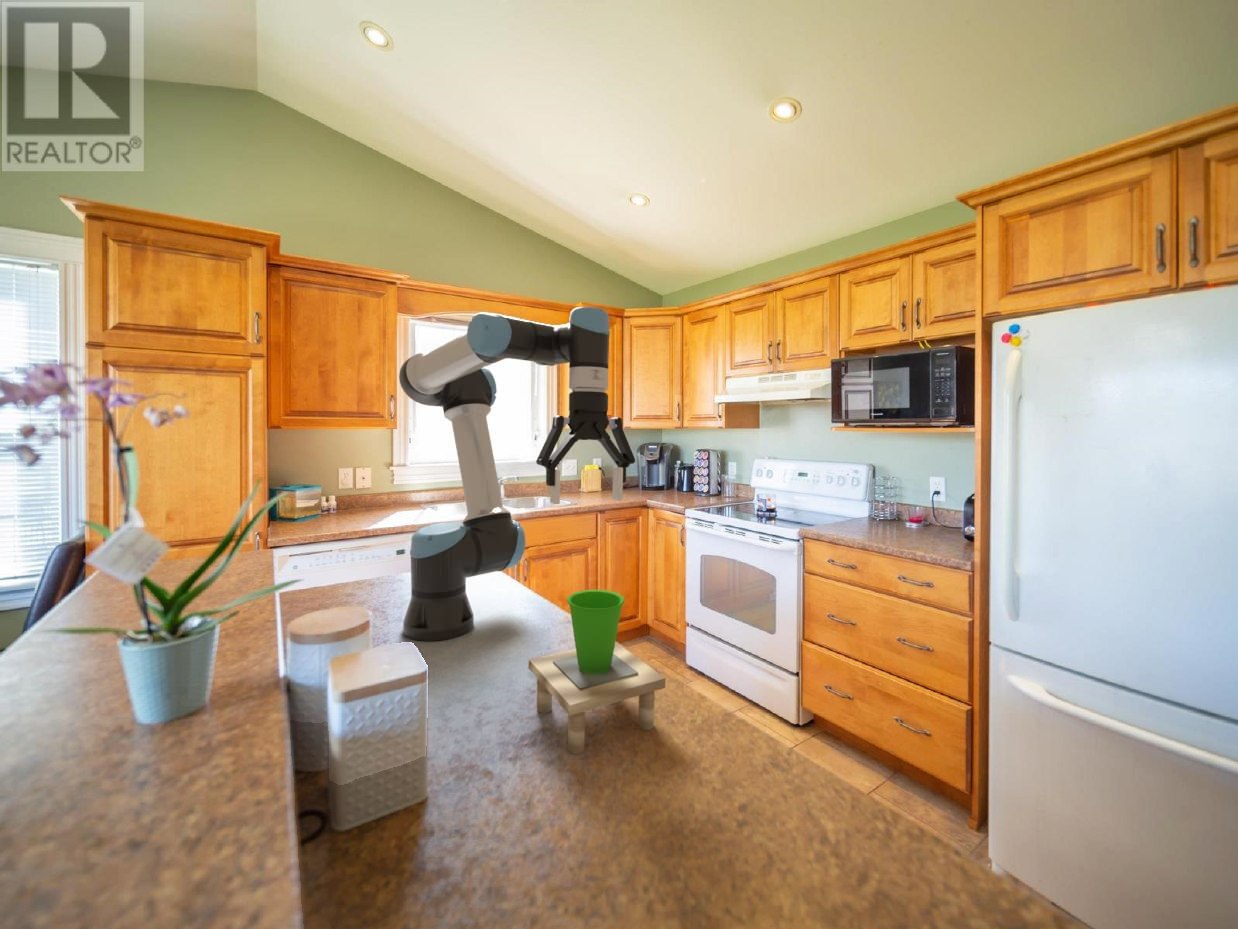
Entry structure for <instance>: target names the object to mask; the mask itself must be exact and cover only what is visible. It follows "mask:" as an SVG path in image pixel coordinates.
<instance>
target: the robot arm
mask: <svg viewBox="0 0 1238 929" xmlns="http://www.w3.org/2000/svg"><path fill="white" fill-rule="evenodd" d="M569 312H570V313H569V320H568V323H566V324H560V325H551V324H546V323H540V322H535V321H530V320H527V319H526V320H525V319H520V318H516V317H512V316H506V315H502V314H499V313H495V312H494V313H488V312H479V313H476V314H475V315H473V316H472V318H471V321H469V323H468V326H467V331H466V332H465V333H463V334H462V335H459V336H458V337H457V336H456V338H454V339H452V340H450V341H449V342H446V343H444V344H443V345H441V346H439V347H437V348H436V349H434V350H431V351H430V352H419V353H416V354H414V355H412V356H411V357H409V358H407V359H406V360H405V361H404V362H403V364H402V365H401V367H400V369H399V373H398V374H399V375H398V378H399V379H398V380H399V384H400V387H401V388H402V390H403V392H404V393H405V395H406V396H407V397H409V398H410V399H411V400H413V401H414V402H416V403H418V404H421V405H423V406H430V407H442V410H443V415H444V418H445V419H446V420H448V421H450V422H451V425H452V432H453V437H454V442H455V443H454V444H455V448H456V454H457V455H456V456H457V460H458V465H459V466H458V467H459V471H460V472H459V473H460V476H461V481H462V489H463V495H464V499H465V505H466V511H467V512H466V513H467V514H466V516H465V517H464V519H463V520H462V522H459V521H448V522H438V523H434V524H430V525H427V526H423V527H421V528H419V529H418V530H416V531H415V532H414V533H413V534H412V536H411V539H410V540H411V541H410V550H409V555H410V579H411V580H410V583H411V584H410V587H411V590H410V591H411V592H410V595H411V598H410V599H409V600H410V601H409V603H408V606H407V610H406V612H405V616H404V619H403V621H402V622H403V624H402V626H403V627H402V628H403V629H402V630H403V631H402V632H403V635H404V636H405V637H407V638H409V639H412V640H415V641H426V642H433V641H442V640H444V641H445V640H448V639H453V638H457V637H460V636H462V635H464V634H466V633H468V632H469V631H471V630H472V629H473V627H474V625H475V624H474V623H475V622H474V618H475V617H474V616H475V615H474V612H473V609H472V607H471V606H472V605H471V603H470V601H469V598H468V595H467V590H466V588H467V585H466V584H467V583H466V582H467V580H466V579H467V578H471V577H476V576H481V575H485V574H491V573H494V572H502V571H505V570H507V569H511V568H513V567H515V566H517V565H518V564H519V563H520V561H521V560H522V557H523V556H524V554H525V550H526V534H525V530H524V528H523V526H521V524H520V522H518V521H516V520H514V519H512V515H511V512H510V511H509V510H507V508H505V507H504V505H503V500H502V495H501V494H502V493H501V490H500V489H501V488H500V484H499V478H498V473H497V468H496V463H495V457H494V451H493V447H492V440H491V435H490V430H489V425H488V419H487V417H488V415H489V414H490V412H491V410H492V408H491V407H492V406H493V405H494V404H495V401H496V398H497V396H496V394H497V389H498V388H497V383H496V380H495V378H494V375H493V373H492V371H491V370H490V369H489V368H488V366H490V365H493V364H495V363H498V362H500V361H503V360H505V359H510V360H511V359H512V360H519V361H528V362H534V363H535V364H536V365H539V366H549V367H552V366H556V365H561V364H569V365H568V367H569V369H568V370H569V373H568V375H569V376H568V379H569V380H568V388H569V390H571V391H570V392H569V394H568V411H569V412H568V417H564V416H563V415H554V416H553V417H552V425H551V429H550V431H549V433H548V436H547V437H546V439H545V441H544V443H543V446H542V447H541V449H540V452H539V455H538V456H537V459H536V460H535V462H536V464H537V465H539V466H541V467H544V468H545V472H546V473H545V484H546V485H547V486H548V487H550V492H549V493H550V495H549V496H550V497H549V498H550V500H549V503H552V504H554V505H560V504H561V502H560V501H561V500H560V499H561V498H560V497H561V495H560V494H561V469H560V468H557V467H558V465H559V464H560V463H561V461H562V460H563V459H564V457H565V456H566V455H567V454H568V452H569V451H570V450H571V449H572V447H573V446H574V445H575V443H577V442H578V441H588V440H590V441H598V442H599V443H600V445H602V447H603V448H604V449H605V451H606V452H607V454H608V456H610V458H611V459H612V461H613V462H614V463H615V464H616V466H612V499H614V500H616V501H623V497H624V496H623V490H624V486H623V485H624V483H626V481H627V468H629V467H630V465H631V464H632V465H633V464H635V462H636V459H635V456H634V453H633V451H632V448H631V446H630V444H629V441H628V439H627V437H626V434H625V432H624V430H623V420H622V418H621V417H616V416H615V417H611V418H609V417H608V411H609V394H608V392H606V391H608V389H609V359H610V357H609V356H610V355H609V354H610V348H609V347H610V334H611V331H610V321H609V320H610V318H609V317H610V316H609V313H608V312H607V311H606V310H605V309H603V308H600V307H593V306H582V307H581V306H580V307H575V308H573V309H572V310H571V311H569ZM566 426H568V427H569V429H570V430H569V431H568V432H567V434H566V435H565V438H564V439H563V440H562V442H561V443H560V444H559V445H558V447H557V448H556V450H555V447H556V446H557V444H558V442H559V439H560V438H561V435H562V432H563V430H564V428H566ZM608 427H609V429H610V430H611V432H612V435H613V437H614V439H615V443H616V444H615V443H614V442H613V440H612V439H611V436H610V434H609V433H608V432H607V431H606V430H607V428H608ZM616 445H617V446H616ZM617 447H618V448H617Z"/></svg>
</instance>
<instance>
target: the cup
mask: <svg viewBox="0 0 1238 929" xmlns="http://www.w3.org/2000/svg"><path fill="white" fill-rule="evenodd" d="M625 601H626V600H625V598H624V596H623V595H622V594H620V593H618V592H614V591H611V590H605V589H585V590H579V591H575V592H573V593H571V594H570V595H568V597H567V599H566V602H567V604H568V605H569V610H570V616H571V624H572V629H573V638H574V644H575V646H574V647H575V649H576V653H577V660H578V666H579V667H580V669H581V670H582V671H583V672H586V673H590V674H599V673H604V672H606V671H607V670H609V668H610V666H611V663H612V657H613V652H614V646H615V642H616V640H617V634H618V628H619V623H620V618H621V617H620V616H621V612H622V606H623V605H624V604H625Z"/></svg>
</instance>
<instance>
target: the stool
mask: <svg viewBox="0 0 1238 929" xmlns="http://www.w3.org/2000/svg"><path fill="white" fill-rule="evenodd" d="M528 669H529V671H530V672H531V673H532V674H533V675H534V676H535V677H536V711H537V712H538V713H540V714H541V713H542V714H548V713H549V712H551V711H552V708H553V707H552V706H553V698H554V699H555V700H556V702H557V703H558V704H559V705H560V706H561V707H562V709H563V710H564V711H565V712H566V714H567V722H568V723H567V751H568V753H570V754H572V755H579V754H582V753H583V752H584V751H585V747H586V746H585V745H586V741H585V740H586V738H585V737H586V733H585V732H586V712H587V711H590V710H591V711H593V710H595V709H598V708H601V707H605V706H608V705H612V704H615V703H618V702H622V701H626V700H629V699H632V698H635V697H638V719H637V720H638V728H639V729H640V730H643V731H651V730H653V729H654V727H655V694H656V693H655V692H656V691H659V690H662V689H666V677H664V676H663V675H662V674H660V673H659V672H657V671H656V670H654V669H653V668H652V667H650V666H649V665H648V664H646V663H645V662H644V661H642V660H641V659H640V658H638V657H637V656H635V655H634V654H633V653H632V652H630V651H628V650H627V649H626V648H624V647H623V646H621V645H620V644H619V643H618V642H616V641H615V646H614V652H613V657H612V663H611V666H610V668H609V670H607V671H606V672H604V673H599V674H590V673H586V672H583V671H582V670H581V669H580V667H579V666H578V660H577V653H576V648H573V649H569V650H564V651H559V652H555V653H550V654H546V655H542V656H538V657H537V656H536V657H533V658H528ZM552 697H553V698H552Z"/></svg>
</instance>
